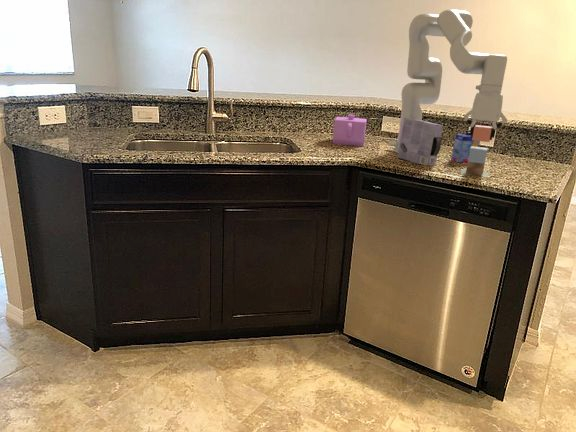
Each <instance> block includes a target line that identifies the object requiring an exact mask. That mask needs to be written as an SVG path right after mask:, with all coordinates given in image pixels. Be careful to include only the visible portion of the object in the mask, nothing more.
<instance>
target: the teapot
mask: <svg viewBox="0 0 576 432" xmlns="http://www.w3.org/2000/svg"><path fill="white" fill-rule="evenodd" d="M366 129H367V118H360V117H356V115H355V114H351V113H350V114H347V117H346V116H336V117H335V119H334V124H333V134H332V135H333V136H332V144H334V145H342V146H343V145H347V146H355V147H356V146H357V147H358V146H359V147H364V144H365V138H366Z"/></svg>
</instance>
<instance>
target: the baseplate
mask: <svg viewBox="0 0 576 432" xmlns="http://www.w3.org/2000/svg"><path fill="white" fill-rule="evenodd" d="M460 174H461V175H462V174H463V175H469V174H466V169H461V171H460ZM474 176H476V175H474ZM481 177H483V178H488V177H489V172H488V173H487V172H483V174H482V176H481Z"/></svg>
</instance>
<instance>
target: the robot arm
mask: <svg viewBox="0 0 576 432" xmlns="http://www.w3.org/2000/svg"><path fill="white" fill-rule="evenodd" d="M473 22H474V20H473V16H472V15H471V13H470V12H468V11H466V10H460V9H459V10H458V9H445V10H443V11H442V12H440V13H439V14H437V13H436V14H435V13H419V14H417V15H416V16H415V17H413V19H412V20H411V22H410V24H409V27H408V40H409V41H408V42H409V44H408V45H409V48H408V59H407V68H406V70H407V71H406V72H407V76H408V77H409V79H412V80H423V81H424V82H414V81H413V82H410V83H406V84H405V85H404V86H403V87H402V89H401V112H400V118H399V119H400V121H399V129H398V135H397V137H398V138H397V141H391V140H390V141H388V142H387V145H388V146H389V147H393V149H392V152H394V153H396V154H398V151H399V146H400V140H401V134H402V129H403V123H404V118H413V119H417V120H422V119H423V111H422V108H421V105H434V104H435V103H437V101H438V100H439V97H440V93H441V85H442V77H443V65H442V62H441V61H440V59H438V58H435V57H429V56H430V55H429V53H430V43H429V41H428V39H427V36H431V37H444V38H446V40H447V41H448V43H449V44H450V48H449V57H450V60H451V62H452V63H453V65H454V66H455V68H456V69H457V70H458V71H459V72H460V73H463V74H465V75H467V74H468V75H469V74H470V75H481V79H480V84H479V85H475V90H477V91H478V92H476V94H475V96H474V99H473V103H472V108H471V110H470V111H469V110H468V112H466V113H465V114H464V115H463V116H462V117H463V119H465V121H466V122H467V124H468V125H469V126H470V129H469V130H470V132H469V133H470V135H471V138H472V137H473V132H474V127H475V126H476V123H477V121H479V122H489V123H491V124H492V130H491V135H490V141H492V140H493V138H495V137H496V136H495V135H496V131H497V129H499V128H500V127H502V126H503V125H504V124H506V123H507V122H508V119H507V117H506V116H505V115H504V113H503V112H502V111H503V110H502V109H503V102H504V101H503V99H504V98H503V97H504V94H502V89H503V84H504V79H505V73H506V69H507V63H508V57H507V55H506V54H499V53H498V54H497V53H494V54H493V53H492V54H489V53H485V52H483V53H481V52H470V51H469V50H468V48H466V46H467V45H468V44H469V43H470V42H471V41H472V37H473V32H472V30H471V28H472V27H473ZM500 118H501V121H500ZM471 119H472V120H471ZM422 121H423V120H422ZM497 122H498V123H497Z"/></svg>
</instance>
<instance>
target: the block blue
mask: <svg viewBox="0 0 576 432" xmlns="http://www.w3.org/2000/svg"><path fill="white" fill-rule="evenodd" d="M488 149H489V148H488V147H482V146H481V147H480V146H479V147H474V146H471V148H470V153H469V158H468V162H475V163H483V164H486V161H487V155H488Z"/></svg>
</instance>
